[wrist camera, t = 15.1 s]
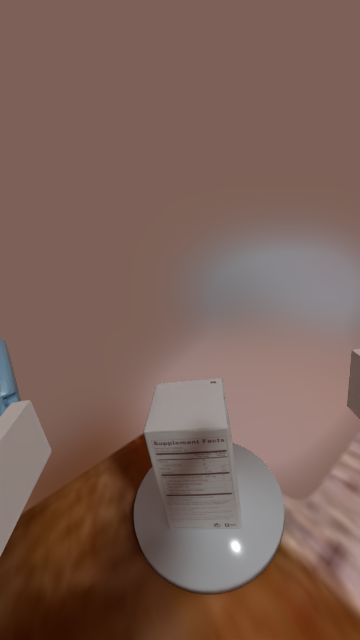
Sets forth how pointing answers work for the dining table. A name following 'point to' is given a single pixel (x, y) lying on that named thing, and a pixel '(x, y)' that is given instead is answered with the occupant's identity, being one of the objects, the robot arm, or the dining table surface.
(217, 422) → the supplement box
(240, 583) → the plate
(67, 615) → the dining table surface
